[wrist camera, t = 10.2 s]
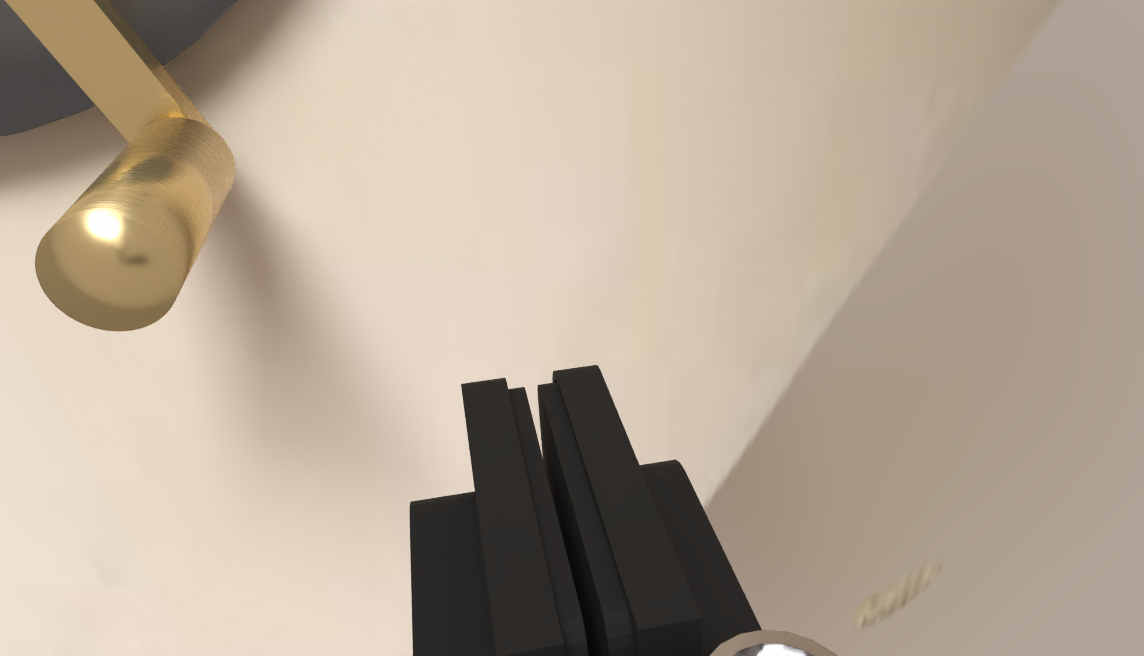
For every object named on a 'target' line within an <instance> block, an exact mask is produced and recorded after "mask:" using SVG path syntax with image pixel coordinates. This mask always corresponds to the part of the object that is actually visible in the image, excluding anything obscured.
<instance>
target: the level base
mask: <svg viewBox="0 0 1144 656" xmlns="http://www.w3.org/2000/svg"><path fill="white" fill-rule="evenodd" d="M110 1H111V2H112V3H113V5H114V6H115V7H116V8H117V10H118V11H119V12H120V13H121V15H122V16H123V17H124V18H125V20H126V21H127V22H128V24H129V25H130V26H131V27H132V29H133V30H134V31H135V32H136V34H137V35H138V36H139V37H140V39H141V40H142V41H143V42H144V44H145V45H146V46H147V47H148V49H149V50H150V51H151V52H152V54H153V55H154V56H155V57H156V59H157V60H158V61H159V62H160V64H161V65H162V66H163V65H164V64H165V63H167V62H168V61H170V60H171V59H172V58H174V57H175V56H176V55H178V54H179V53H180V52H182V51H183V50H185V49H186V48H187V47H189V46H190V45H191V44H193V43H194V42H195V41H196V40H198V39H199V38H200V37H201V36H202V35H203V34H204V33H205V32H206V31H207V30H208V29H209V28H210V27H211V26H212V25H213V24H214V23H215V22H216V21H217V20H218V19H219V18H220V17H221V16H222V15H223V14H224V13H225V12H226V11H227V10H228V9H229V8H230V7H231V6H232V5H233V4H234V3H235V2H236V1H237V0H110ZM94 105H95V104H94V102H93V101H92V100H91V99H90V98H89V97H88V96H87V94H86V93H85V92H84V91H83V90H82V89H81V88H80V86H79V85H78V84H77V83H76V82H75V81H74V79H73V78H72V77H71V76H70V75H69V74H68V73H67V71H66V70H65V69H64V68H63V67H62V66H61V64H60V63H59V62H58V61H57V60H56V59H55V58H54V56H53V55H52V54H51V53H50V52H49V51H48V49H47V48H46V47H45V46H44V45H43V44H42V43H41V41H40V40H39V39H38V38H37V37H36V36H35V35H34V33H33V32H32V31H31V30H30V29H29V28H28V26H27V25H26V24H25V23H24V22H23V21H22V20H21V18H20V17H19V16H18V15H17V14H16V13H15V11H14V10H13V9H12V8H11V7H10V6H9V5H8V3H7V2H6V1H5V0H0V136H5V135H10V134H15V133H20V132H23V131H26V130H29V129H32V128H35V127H38V126H41V125H44V124H47V123H49V122H52V121H55V120H58V119H61V118H64V117H67V116H70V115H73V114H76V113H78V112H81V111H84V110H86V109H88V108H90V107H92V106H94Z"/></svg>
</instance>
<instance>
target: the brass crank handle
mask: <svg viewBox="0 0 1144 656" xmlns="http://www.w3.org/2000/svg"><path fill="white" fill-rule="evenodd" d="M5 1H6V2H7V3H8V5H9V6H10V7H11V8H12V9H13V10H14V11H15V13H16V14H17V15H18V16H19V17H20V18H21V20H22V21H23V22H24V23H25V24H26V25H27V26H28V28H29V29H30V30H31V31H32V32H33V33H34V35H35V36H36V37H37V38H38V39H39V40H40V41H41V43H42V44H43V45H44V46H45V47H46V48H47V49H48V51H49V52H50V53H51V54H52V55H53V56H54V58H55V59H56V60H57V61H58V62H59V63H60V64H61V66H62V67H63V68H64V69H65V70H66V71H67V73H68V74H69V75H70V76H71V77H72V78H73V79H74V81H75V82H76V83H77V84H78V85H79V86H80V88H81V89H82V90H83V91H84V92H85V93H86V94H87V96H88V97H89V98H90V99H91V100H92V101H93V102H94V104H95V105H96V106H97V107H98V108H99V109H100V111H101V112H102V113H103V114H104V115H105V116H106V117H107V119H108V120H109V121H110V122H111V123H112V124H113V126H114V127H115V128H116V129H117V130H118V131H119V132H120V134H121V135H122V136H123V137H124V138H125V139H126V141H127V142H128V143H129V145H128V146H127V147H126V148H125V149H124V150H123V151H122V152H121V153H120V154H119V155H118V156H117V157H116V159H115V160H114V161H113V162H112V163H111V164H110V165H109V166H108V167H107V168H106V169H105V170H104V172H103V173H102V174H101V175H100V176H99V177H98V178H97V179H96V180H95V181H94V182H93V183H92V184H91V186H90V187H89V188H88V189H87V190H86V191H85V192H84V193H83V194H82V195H81V196H80V197H79V198H78V200H77V201H76V202H75V203H74V204H73V205H72V206H71V207H70V208H69V209H68V210H67V211H66V213H65V214H64V215H63V216H62V217H61V218H60V219H59V220H58V221H57V222H56V223H55V224H54V225H53V227H52V228H51V229H50V230H49V231H48V232H47V233H46V234H45V236H44V237H43V238H42V240H41V242H40V244H39V246H38V249H37V252H36V258H35V268H36V274H37V278H38V280H39V283H40V285H41V287H42V289H43V291H44V293H45V294H46V295H47V297H48V298H49V299H50V301H51V302H52V303H53V304H54V305H55V306H56V307H57V308H58V309H60V310H61V311H62V312H63V313H65V314H66V315H68V316H69V317H71V318H72V319H74V320H76V321H78V322H80V323H82V324H85V325H87V326H90V327H94V328H97V329H102V330H108V331H130V330H135V329H140V328H143V327H146V326H148V325H150V324H152V323H154V322H156V321H158V320H159V319H161V318H162V317H163V316H164V315H165V314H166V313H167V312H168V311H169V310H170V308H171V307H172V305H173V304H174V302H175V300H176V298H177V296H178V294H179V292H180V290H181V288H182V286H183V284H184V282H185V280H186V278H187V276H188V274H189V272H190V270H191V268H192V266H193V264H194V262H195V260H196V258H197V256H198V254H199V252H200V250H201V248H202V246H203V244H204V241H205V239H206V237H207V235H208V233H209V231H210V229H211V227H212V225H213V223H214V221H215V219H216V217H217V215H218V213H219V211H220V209H221V207H222V205H223V203H224V201H225V199H226V197H227V195H228V193H229V191H230V189H231V187H232V185H233V182H234V178H235V162H234V158H233V155H232V153H231V151H230V149H229V147H228V145H227V144H226V142H225V141H224V140H223V139H222V137H221V136H220V135H219V134H218V133H216V132H215V131H214V130H213V129H212V128H211V126H210V125H209V124H208V123H207V121H206V120H205V119H204V118H203V116H202V115H201V114H200V113H199V111H198V110H197V109H196V108H195V106H194V105H193V104H192V102H191V101H190V100H189V99H188V97H187V96H186V95H185V94H184V92H183V91H182V90H181V89H180V87H179V86H178V85H177V84H176V82H175V81H174V80H173V79H172V77H171V76H170V75H169V74H168V72H167V71H166V70H165V69H164V67H163V66H162V65H161V64H160V62H159V61H158V60H157V59H156V57H155V56H154V55H153V54H152V52H151V51H150V50H149V49H148V47H147V46H146V45H145V44H144V42H143V41H142V40H141V39H140V37H139V36H138V35H137V34H136V32H135V31H134V30H133V29H132V27H131V26H130V25H129V24H128V22H127V21H126V20H125V18H124V17H123V16H122V15H121V13H120V12H119V11H118V10H117V8H116V7H115V6H114V5H113V3H112V2H111V1H110V0H5Z"/></svg>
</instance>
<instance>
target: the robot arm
mask: <svg viewBox="0 0 1144 656" xmlns="http://www.w3.org/2000/svg"><path fill="white" fill-rule="evenodd" d="M461 387H462V395H463V403H464V410H465V418H466V426H467V433H468V441H469V449H470V456H471V464H472V472H473V479H474V487H475V492H469V493H463V494H457V495H450V496H444V497H438V498H431V499H425V500H419V501H413V502H411V503H410V548H411V589H412V631H413V656H837V655H836V654H835V653H834V652H832V651H830V650H829V649H827V648H826V647H824V646H822V645H821V644H819V643H817V642H815V641H814V640H812V639H809V638H806V637H803V636H800V635H797V634H794V633H790V632H785V631H772V630H762V629H761V627H760V625H759V623H758V621H757V619H756V617H755V615H754V613H753V611H752V609H751V607H750V605H749V602H748V600H747V598H746V596H745V594H744V592H743V590H742V588H741V586H740V584H739V582H738V580H737V578H736V576H735V574H734V571H733V570H732V567H731V565H730V563H729V561H728V559H727V557H726V555H725V553H724V551H723V549H722V546H721V545H720V542H719V540H718V538H717V536H716V534H715V532H714V530H713V528H712V526H711V524H710V522H709V520H708V517H707V515H706V513H705V511H704V509H703V507H702V505H701V503H700V501H699V499H698V497H697V495H696V493H695V491H694V488H693V486H692V484H691V482H690V480H689V478H688V476H687V474H686V472H685V470H684V469H683V467H682V465H681V464H680V462H678V461H677V460H670V461H664V462H658V463H651V464H645V465H639V463H638V461H637V458H636V456H635V453H634V451H633V448H632V446H631V444H630V441H629V439H628V436H627V434H626V431H625V429H624V427H623V424H622V422H621V419H620V417H619V414H618V412H617V410H616V407H615V405H614V402H613V400H612V397H611V395H610V393H609V390H608V388H607V385H606V383H605V380H604V378H603V376H602V373H601V371H600V369H599V367H598V366H597V365H593V366H586V367H578V368H571V369H564V370H557V371H553V383H549V384H542V385H538V403H539V416H540V428H541V440H542V453H543V458H542V454H541V450H540V446H539V442H538V438H537V434H536V430H535V426H534V422H533V418H532V414H531V410H530V406H529V402H528V398H527V394H526V391H525V388H524V387H521V388H514V389H508V387H507V382H506V379H505V378H500V379H493V380H486V381H479V382H472V383H465V384H461Z"/></svg>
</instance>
